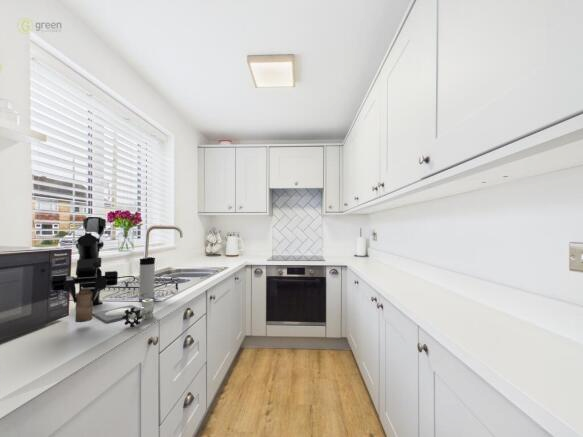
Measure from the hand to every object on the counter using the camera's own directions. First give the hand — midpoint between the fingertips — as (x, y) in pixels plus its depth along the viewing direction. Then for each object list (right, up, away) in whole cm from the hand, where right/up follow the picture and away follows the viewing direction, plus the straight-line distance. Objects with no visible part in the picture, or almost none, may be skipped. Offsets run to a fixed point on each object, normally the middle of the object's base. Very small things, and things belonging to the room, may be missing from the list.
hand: (84, 301), depth 91 cm
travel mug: (+2, -10, +35) cm, 36 cm away
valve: (+15, -10, +7) cm, 19 cm away
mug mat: (+3, -9, +14) cm, 17 cm away
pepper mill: (-1, -7, +1) cm, 7 cm away
